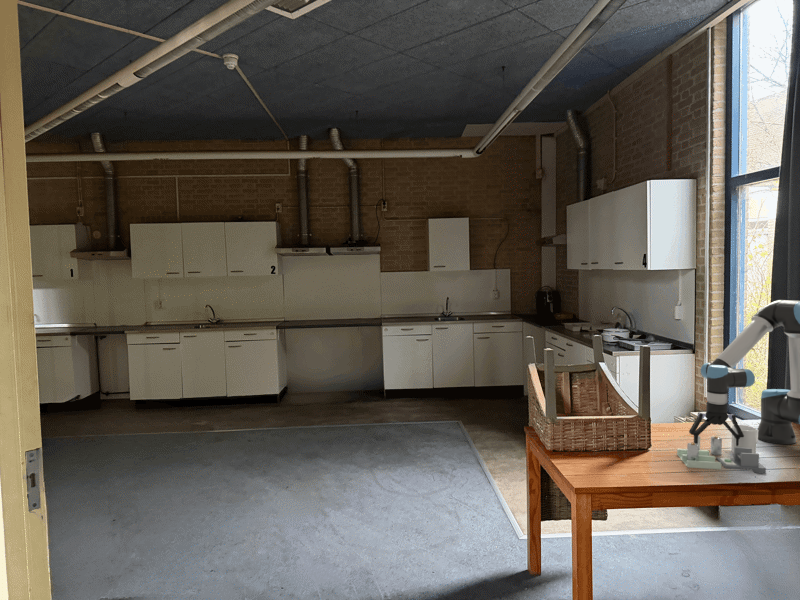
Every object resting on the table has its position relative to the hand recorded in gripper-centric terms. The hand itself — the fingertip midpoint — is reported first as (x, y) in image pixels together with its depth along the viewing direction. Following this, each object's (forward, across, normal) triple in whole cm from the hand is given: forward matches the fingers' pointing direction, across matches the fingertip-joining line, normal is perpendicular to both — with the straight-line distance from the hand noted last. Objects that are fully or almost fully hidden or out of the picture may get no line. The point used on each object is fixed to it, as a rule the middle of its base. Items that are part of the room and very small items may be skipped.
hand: (715, 452), depth 228 cm
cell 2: (+2, 0, 0) cm, 2 cm away
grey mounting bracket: (+2, -5, +12) cm, 13 cm away
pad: (-2, -7, +12) cm, 14 cm away
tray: (+2, +10, +11) cm, 15 cm away
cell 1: (+1, +13, +14) cm, 19 cm away
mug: (+2, -14, -7) cm, 16 cm away
